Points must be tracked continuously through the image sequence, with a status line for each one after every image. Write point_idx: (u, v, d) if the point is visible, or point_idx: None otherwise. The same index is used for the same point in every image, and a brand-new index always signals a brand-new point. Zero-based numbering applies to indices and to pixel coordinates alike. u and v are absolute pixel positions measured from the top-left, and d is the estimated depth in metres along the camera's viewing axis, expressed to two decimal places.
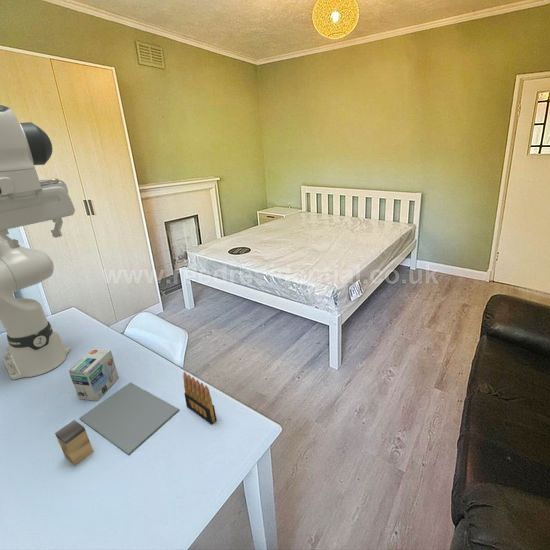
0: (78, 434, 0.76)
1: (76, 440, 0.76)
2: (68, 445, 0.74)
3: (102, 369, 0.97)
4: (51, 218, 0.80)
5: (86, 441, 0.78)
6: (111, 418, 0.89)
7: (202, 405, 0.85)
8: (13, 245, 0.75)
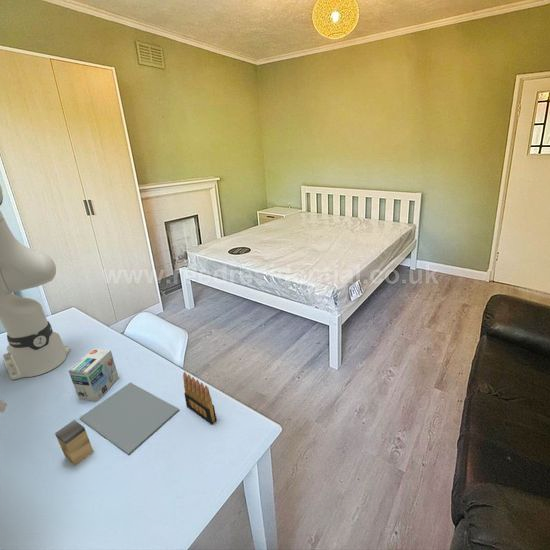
0: (78, 434, 0.76)
1: (76, 440, 0.76)
2: (68, 445, 0.74)
3: (102, 369, 0.97)
4: None
5: (86, 441, 0.78)
6: (111, 418, 0.89)
7: (202, 405, 0.85)
8: None
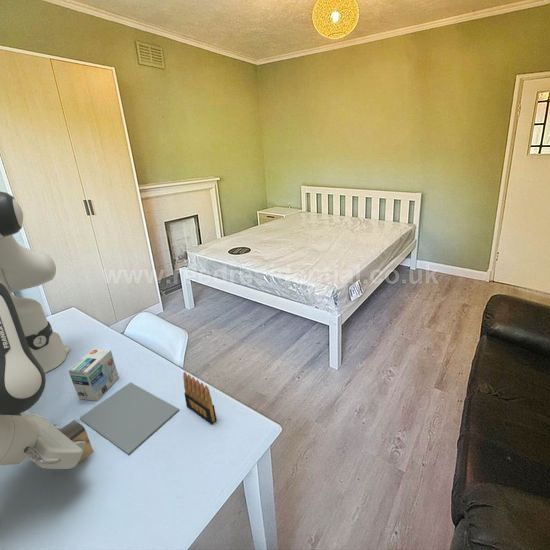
0: (78, 434, 0.76)
1: None
2: None
3: (102, 369, 0.97)
4: None
5: (86, 441, 0.78)
6: (111, 418, 0.89)
7: (202, 405, 0.85)
8: None
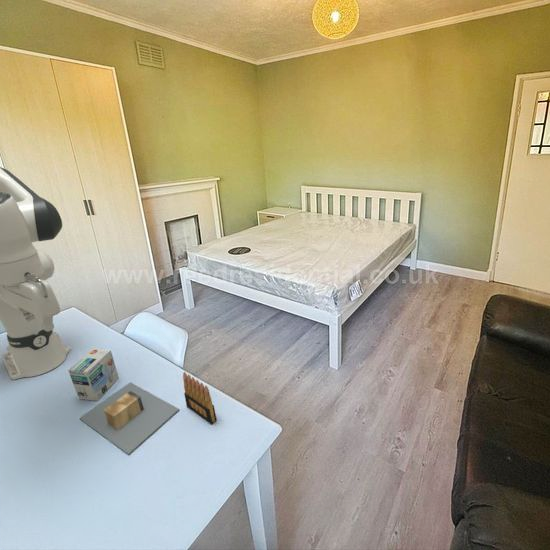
0: (140, 406, 0.90)
1: (136, 406, 0.89)
2: (135, 401, 0.88)
3: (102, 369, 0.97)
4: (31, 312, 0.71)
5: (130, 417, 0.88)
6: None
7: (202, 405, 0.85)
8: (24, 318, 0.78)
